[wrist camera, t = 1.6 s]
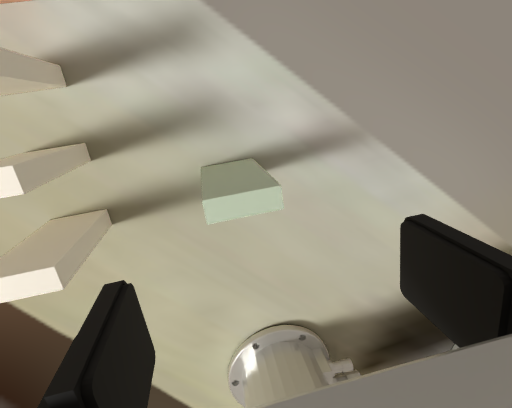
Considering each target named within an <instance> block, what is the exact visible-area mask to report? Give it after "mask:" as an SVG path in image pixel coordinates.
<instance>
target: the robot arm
mask: <svg viewBox="0 0 512 408" xmlns="http://www.w3.org/2000/svg"><path fill="white" fill-rule="evenodd" d="M400 289H401V292H402V294H403V295H404V297H405V298H406V299H407V300H408V301H410V302H411V303H412V304H413V305H414V306H415V307H416V308H417V309H418V310H419V311H420V312H421V313H423V314H424V315H425V316H426V317H427V318H428V319H429V320H430V321H431V322H432V323H433V324H434V325H435V326H437V327H438V328H439V329H440V330H441V331H442V332H443V333H444V334H445V335H446V336H447V337H448V338H450V339H451V340H452V341H453V342H454V343H455V344H456V345H457V346H458V347H459V348H458V349H454V350H451V351H447V352H444V353H440V354H436V355H433V356H429V357H426V358H422V359H418V360H415V361H411V362H408V363H404V364H401V365H397V366H394V367H390V368H387V369H383V370H380V371H376V372H373V373H369V374H366V375H362V376H361V375H360V373H359V371H358V370H353V364H352V361H351V359H350V358H346V359H341V360H338V361H334V362H331V360H330V357H329V353H328V351H327V348H326V346H325V345H324V343H323V341H322V340H321V338H320V337H319V336H318V335H317V334H315V333H314V332H312V331H311V330H309V329H307V328H304V327H301V326H295V325H280V326H274V327H270V328H267V329H264V330H262V331H260V332H258V333H256V334H254V335H252V336H251V337H250V338H248V339H247V340H246V341H244V342H243V343H242V345H241V346H240V347H239V348H238V349H237V350H236V352H235V353H234V355H233V357H232V359H231V361H230V364H229V369H228V382H229V387H230V391H231V393H232V395H233V397H234V398H235V399H236V400H237V402H238V403H240V404H241V405H242V406H244V407H245V408H512V256H511V255H509V254H507V253H505V252H503V251H500V250H498V249H496V248H494V247H492V246H490V245H488V244H486V243H484V242H482V241H479V240H477V239H475V238H473V237H471V236H469V235H467V234H465V233H463V232H461V231H458V230H456V229H454V228H452V227H450V226H448V225H446V224H444V223H442V222H440V221H437V220H435V219H433V218H431V217H429V216H427V215H425V214H420V215H415V216H411V217H407V218H405V220H404V222H403V223H402V224H401V228H400ZM154 365H155V350H154V346H153V343H152V340H151V337H150V334H149V331H148V328H147V325H146V322H145V319H144V316H143V313H142V310H141V307H140V304H139V301H138V298H137V295H136V292H135V289H134V287H133V285H132V284H131V283H130V284H127V283H126V282H125V281H124V280H123V281H118V282H114V283H109V284H105V285H104V286H103V288H102V290H101V292H100V294H99V295H98V297H97V299H96V301H95V303H94V305H93V307H92V309H91V310H90V312H89V314H88V316H87V318H86V320H85V322H84V324H83V325H82V327H81V329H80V331H79V333H78V335H77V336H76V337H75V339H74V340H73V342H72V344H71V346H70V348H69V350H68V352H67V353H66V355H65V357H64V359H63V361H62V363H61V365H60V367H59V368H58V370H57V372H56V374H55V376H54V378H53V380H52V381H51V383H50V385H49V387H48V389H47V391H46V393H45V394H44V396H43V398H42V400H41V402H40V404H39V406H38V407H37V408H147V405H148V399H149V394H150V388H151V382H152V376H153V371H154ZM341 372H342V373H343V374H339V375H335V374H336V373H341Z"/></svg>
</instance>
